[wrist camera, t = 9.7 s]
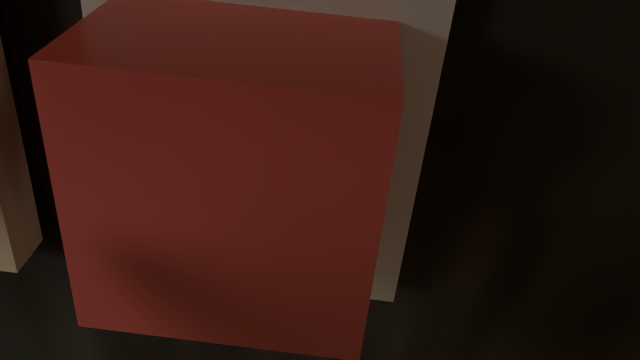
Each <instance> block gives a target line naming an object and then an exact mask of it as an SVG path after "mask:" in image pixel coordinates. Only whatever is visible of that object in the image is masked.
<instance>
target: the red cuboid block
mask: <svg viewBox="0 0 640 360" xmlns="http://www.w3.org/2000/svg"><path fill="white" fill-rule="evenodd" d="M28 63H29V68H30V74H31V79H32V84H33V89H34V95H35V100H36V105H37V111H38V116H39V121H40V126H41V132H42V137H43V142H44V147H45V153H46V158H47V163H48V168H49V174H50V179H51V184H52V189H53V195H54V200H55V205H56V210H57V216H58V221H59V226H60V231H61V237H62V242H63V247H64V252H65V258H66V263H67V268H68V274H69V279H70V284H71V289H72V295H73V300H74V305H75V310H76V316H77V321H78V326H81V327H89V328H97V329H105V330H113V331H121V332H129V333H137V334H145V335H153V336H161V337H169V338H177V339H185V340H193V341H201V342H209V343H217V344H225V345H233V346H241V347H249V348H257V349H265V350H273V351H281V352H289V353H297V354H305V355H313V356H321V357H329V358H337V359H345V360H360V354H361V348H362V343H363V337H364V331H365V325H366V320H367V314H368V308H369V302H370V297H371V291H372V285H373V280H374V274H375V268H376V262H377V257H378V251H379V245H380V239H381V234H382V228H383V222H384V216H385V211H386V205H387V199H388V194H389V188H390V182H391V176H392V171H393V165H394V159H395V153H396V148H397V142H398V136H399V130H400V125H401V119H402V113H403V108H404V102H405V101H404V88H403V74H402V61H401V47H400V34H399V21H390V20H380V19H371V18H362V17H353V16H344V15H335V14H325V13H316V12H307V11H298V10H289V9H280V8H270V7H261V6H252V5H243V4H234V3H224V2H215V1H206V0H107V1H106V2H105V3H103V4H102V5H100V6H99V7H98V8H96V9H95V10H94V11H92V12H91V13H90V14H88V15H87V16H86V17H84V18H83V19H81V20H80V21H79V22H77V23H76V24H75V25H73V26H72V27H71V28H69V29H68V30H67V31H65V32H64V33H63V34H61V35H60V36H58V37H57V38H56V39H54V40H53V41H52V42H50V43H49V44H48V45H46V46H45V47H44V48H42V49H41V50H39V51H38V52H37V53H35V54H34V55H33V56H31V57H30V58H29V59H28Z"/></svg>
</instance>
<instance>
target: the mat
mask: <svg viewBox="0 0 640 360" xmlns="http://www.w3.org/2000/svg"><path fill="white" fill-rule="evenodd" d="M106 1H107V0H81V7H82V15H83V18H84V17H86V16H87V15H88V14H90V13H91V12H92V11H94V10H95V9H96V8H98V7H99V6H100V5H102V4H103V3H105V2H106ZM206 1H215V2H224V3H234V4H243V5H252V6H261V7H270V8H280V9H289V10H298V11H307V12H316V13H325V14H335V15H344V16H353V17H362V18H371V19H380V20H390V21H399V34H400V47H401V61H402V74H403V88H404V101H405V102H404V108H403V113H402V119H401V125H400V130H399V136H398V142H397V148H396V153H395V159H394V165H393V171H392V176H391V182H390V188H389V194H388V199H387V205H386V211H385V216H384V222H383V228H382V234H381V239H380V245H379V251H378V257H377V262H376V268H375V274H374V280H373V285H372V291H371V297H370V299H374V300H382V301H390V302H393V301H394V297H395V292H396V287H397V282H398V277H399V273H400V268H401V263H402V258H403V253H404V248H405V244H406V239H407V234H408V229H409V224H410V220H411V215H412V210H413V205H414V200H415V196H416V191H417V186H418V181H419V176H420V171H421V167H422V162H423V157H424V152H425V147H426V143H427V138H428V133H429V128H430V123H431V119H432V114H433V109H434V104H435V99H436V94H437V90H438V85H439V80H440V75H441V70H442V66H443V61H444V56H445V51H446V46H447V42H448V37H449V32H450V27H451V22H452V17H453V13H454V8H455V3H456V0H206Z"/></svg>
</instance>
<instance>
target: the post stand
mask: <svg viewBox="0 0 640 360" xmlns="http://www.w3.org/2000/svg"><path fill="white" fill-rule="evenodd" d="M42 240H43V237H42V232H41V228H40V223H39V218H38V213H37V208H36V204H35V199H34V194H33V189H32V184H31V180H30V175H29V170H28V165H27V160H26V156H25V151H24V146H23V141H22V136H21V132H20V127H19V122H18V117H17V112H16V108H15V103H14V98H13V93H12V88H11V84H10V79H9V74H8V69H7V65H6V60H5V55H4V50H3V45H2V41H1V36H0V271H7V272H15V273H18V271H19V270H20V269H21V268H22V266H23V265H24V264H25V262H26V261H27V260H28V258H29V257H30V256H31V255H32V253H33V252H34V251H35V249H36V248H37V247H38V245H39V244H40V243H41V241H42Z"/></svg>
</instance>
